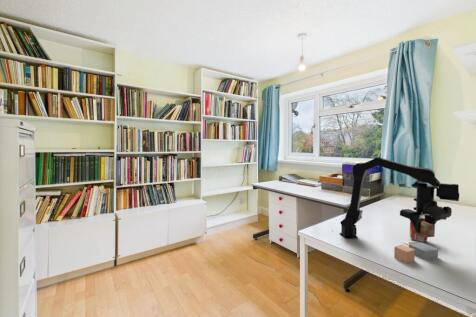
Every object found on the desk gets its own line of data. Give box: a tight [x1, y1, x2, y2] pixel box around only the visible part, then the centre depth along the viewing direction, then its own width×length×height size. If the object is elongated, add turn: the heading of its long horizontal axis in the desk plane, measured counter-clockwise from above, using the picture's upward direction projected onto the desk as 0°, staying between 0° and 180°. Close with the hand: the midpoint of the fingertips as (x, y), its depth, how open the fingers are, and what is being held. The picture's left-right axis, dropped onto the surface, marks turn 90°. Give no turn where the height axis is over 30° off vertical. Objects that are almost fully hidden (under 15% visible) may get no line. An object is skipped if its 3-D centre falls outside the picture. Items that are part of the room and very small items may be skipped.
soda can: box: [409, 216, 429, 243], centre depth 109 cm, size 7×7×12 cm
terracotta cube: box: [393, 244, 416, 264], centre depth 92 cm, size 5×5×5 cm
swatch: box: [403, 240, 420, 246], centre depth 104 cm, size 7×7×1 cm
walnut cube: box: [413, 221, 436, 238], centre depth 95 cm, size 5×5×5 cm
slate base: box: [408, 242, 439, 261], centre depth 95 cm, size 7×7×4 cm
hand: (423, 232), depth 95 cm, fingers closed on walnut cube, 5 cm apart
